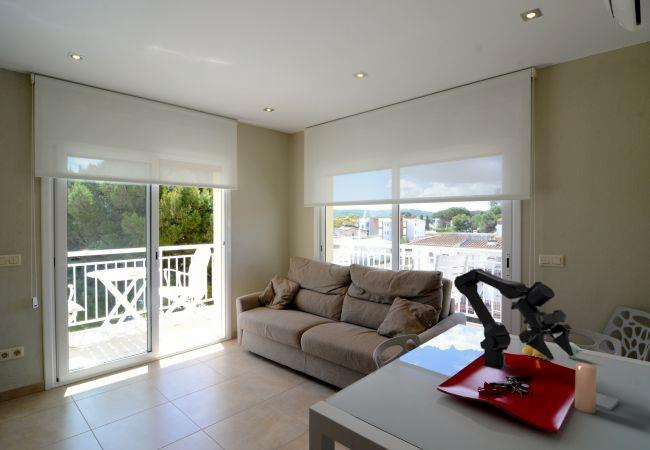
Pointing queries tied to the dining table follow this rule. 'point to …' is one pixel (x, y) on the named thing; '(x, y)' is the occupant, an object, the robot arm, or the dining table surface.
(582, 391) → the peach pillar candle
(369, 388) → the dining table surface
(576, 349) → the pale green rounded piece
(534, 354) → the bread roll
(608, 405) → the slate coaster
